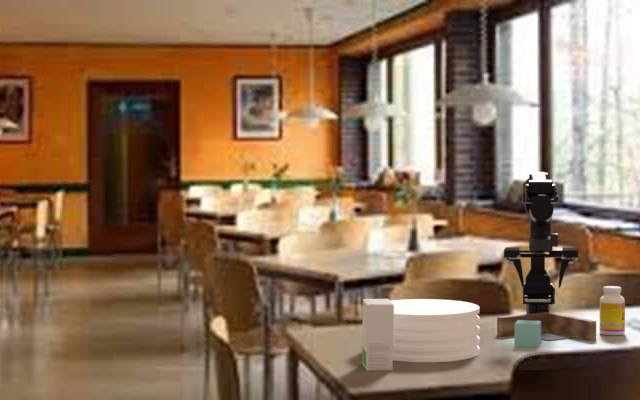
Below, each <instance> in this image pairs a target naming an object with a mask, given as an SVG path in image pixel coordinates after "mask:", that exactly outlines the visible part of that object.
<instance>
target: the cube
mask: <svg viewBox="0 0 640 400" xmlns="http://www.w3.org/2000/svg"><path fill="white" fill-rule="evenodd" d="M541 334H542V332H541V321H529V320H517V322H516V323H515V335H514V347H515V348H516V347H517V348H535V349H537V348H539V347H540V346H541V344H542V340H541Z"/></svg>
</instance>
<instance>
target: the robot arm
mask: <svg viewBox="0 0 640 400" xmlns="http://www.w3.org/2000/svg"><path fill="white" fill-rule="evenodd" d="M528 175H529V176H528V179H526V180H525V181H524V182H522V203H523V204H524V208H525V210H526V212H527V214H528V215H529V216H528V217H529V241H528V242H529V243H528V245H529V246H528V247H529V248H528V249H529V250H520V247H519V246H517V247H512V246H511V247H510V246H508V247H505V248H504V249H503V259H504V261H508V262H509V264H511V265H513V266H514V267H515V270H516V271H517V276H518V278H519V281H520V284H521V288H522V305H525V306H526V307H525V309H526V311H525V312H526V313H525V314H533V313H543V312H549V313H550V309H549V307H550V305H552V306H553V305H555V304H556V288H555V287H554V285H553V283H551V277H550V275H549V273H548V272H547V270H546V268H545V267H546V263H545V261H546V258H549V259H550V258H554V259H556V258H561V261H560V270H559V277H558V289H560V288H561V287H562V283H563V281H564V276H565V273H566V271H567V269H568V267H569V265H573V264H574V261H575V262H576V261H577V262H578V261H579V249H578V248H577V247H576V246H575V247H572V246H570V247H564V246H563V247H562V248H561V249H562V250H553V247H555V248H558V246H559V234H558V233H557V232H556V233H555V232H554V233H553V216H554V215H553V214H554V207H553V205H554V204H557V202H558V201H559V190H558V189H559V188H557V185H556V184H555V183H554V181H553V180H552V179H549V178H548V172H545V171H531V172H529V174H528ZM522 258H527V259H528V258H529V259H530V269H528V270H529V271H528V272H527V274H526V275H525V277H524V274H523V268H522V260H521V259H522ZM524 279H525V280H524Z"/></svg>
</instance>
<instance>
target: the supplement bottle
mask: <svg viewBox="0 0 640 400" xmlns="http://www.w3.org/2000/svg"><path fill="white" fill-rule="evenodd" d="M602 290H603V295H602V296H601V297H600V298H599V333H600V334H601V335H604V336H623V335H624V334H625V332H626V331H625V330H626V301H625V298H624V297H623V295H621V294H622V287H621V286H617V285H606V286H603V287H602Z"/></svg>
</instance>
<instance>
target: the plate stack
mask: <svg viewBox="0 0 640 400" xmlns="http://www.w3.org/2000/svg"><path fill="white" fill-rule="evenodd" d="M389 300H390V301H392V304H393V305H394V322H393V361H396V362H410V363H442V362H454V361H455V362H456V361H463V360H467V359H468V360H469V359H472V358H475V357H476V356H477V357H478V355H479V354H480V351H481V349H480V346H479V344H480V343H481V342H480V340H481V337H480V336H479V334H480V330H481V329H480V327H481V326H479V324H480V321H481V320H480V318H481V317H480V316H479V314H480V311H481V310H480V309H481V308H480V305H478V304H475V303H473V302H468V301H462V300H455V299H454V300H453V299H439V298H438V299H437V298H436V299H435V298H433V299H432V298H409V299H408V298H406V299H405V298H404V299H393V300H391V299H389Z"/></svg>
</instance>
